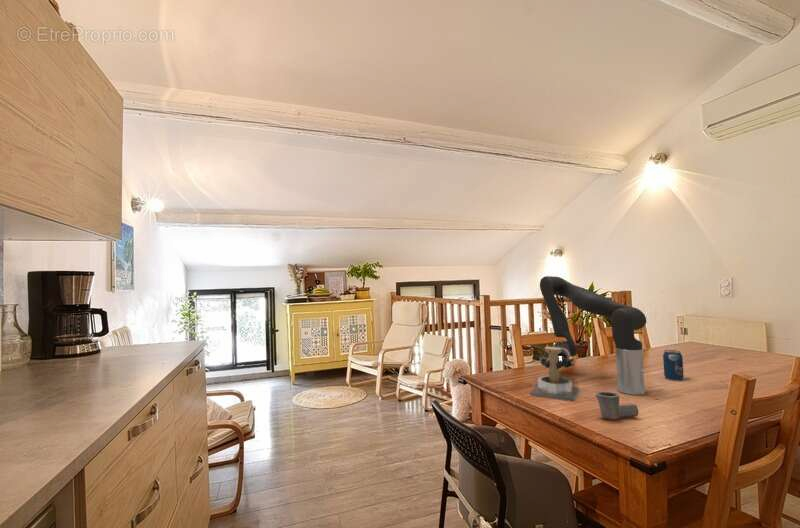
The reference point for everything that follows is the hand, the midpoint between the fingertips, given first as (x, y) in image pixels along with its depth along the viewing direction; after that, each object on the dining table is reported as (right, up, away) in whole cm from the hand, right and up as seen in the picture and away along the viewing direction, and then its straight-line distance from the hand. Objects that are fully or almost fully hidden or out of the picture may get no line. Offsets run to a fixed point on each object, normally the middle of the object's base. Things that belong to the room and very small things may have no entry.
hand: (552, 365), depth 150 cm
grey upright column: (+2, -9, +2) cm, 9 cm away
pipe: (+11, -10, -26) cm, 30 cm away
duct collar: (+2, -11, +2) cm, 12 cm away
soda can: (+60, -10, +15) cm, 62 cm away
